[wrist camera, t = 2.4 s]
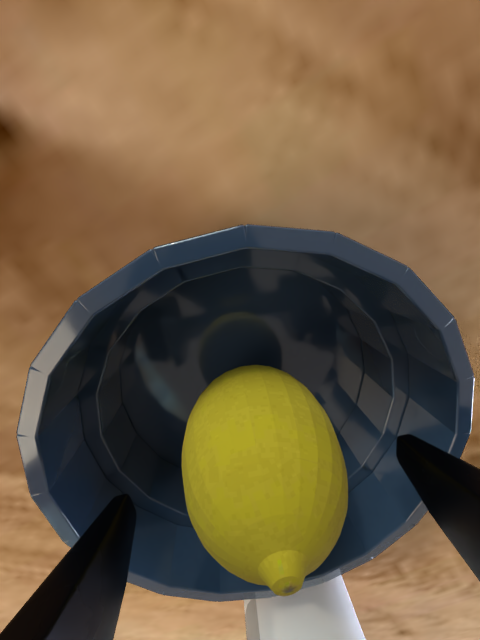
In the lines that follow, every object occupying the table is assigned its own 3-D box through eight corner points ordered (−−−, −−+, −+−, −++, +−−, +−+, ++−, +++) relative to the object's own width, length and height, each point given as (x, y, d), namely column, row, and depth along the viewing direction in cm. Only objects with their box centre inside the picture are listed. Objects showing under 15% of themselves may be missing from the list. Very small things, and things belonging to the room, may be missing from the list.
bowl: (435, 360, 14) (549, 421, 9) (258, 524, 17) (274, 637, 12) (225, 151, 10) (233, 69, 5) (37, 409, 13) (-72, 509, 8)
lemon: (212, 442, 14) (206, 684, 6) (177, 355, 12) (111, 547, 5) (307, 413, 14) (417, 622, 6) (285, 323, 12) (401, 460, 5)
